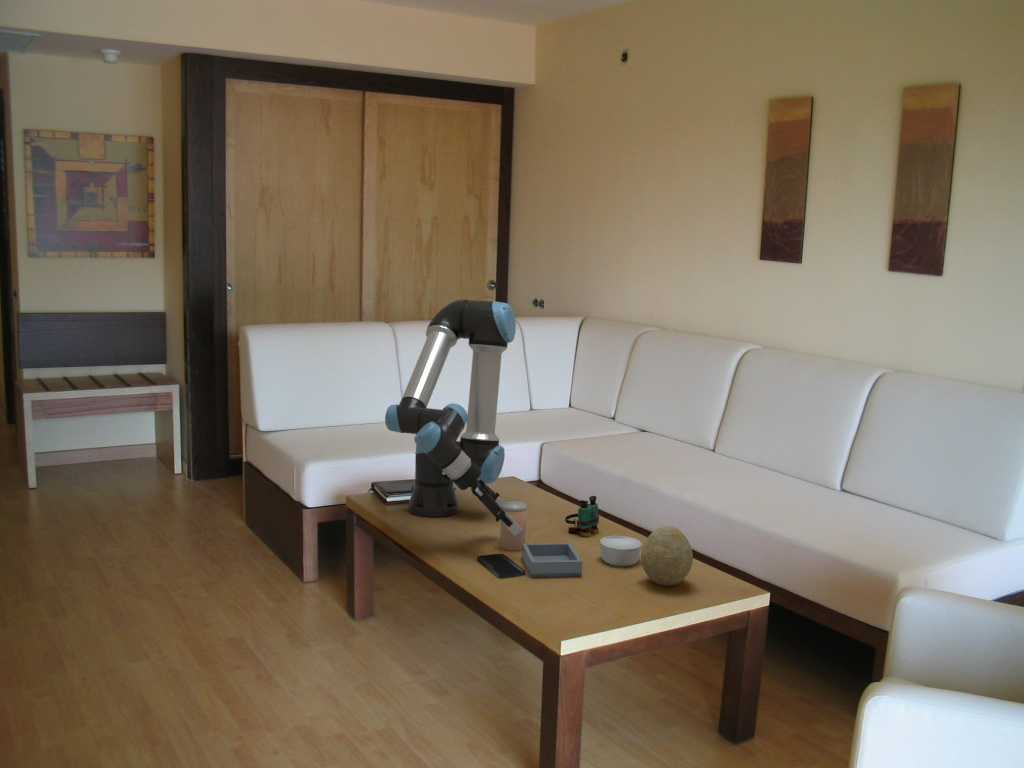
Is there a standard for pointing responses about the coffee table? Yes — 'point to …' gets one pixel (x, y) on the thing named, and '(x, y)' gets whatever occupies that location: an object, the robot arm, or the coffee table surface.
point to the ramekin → (620, 550)
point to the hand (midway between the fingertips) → (514, 524)
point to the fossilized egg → (667, 556)
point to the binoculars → (585, 518)
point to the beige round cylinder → (519, 515)
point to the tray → (551, 560)
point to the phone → (501, 566)
